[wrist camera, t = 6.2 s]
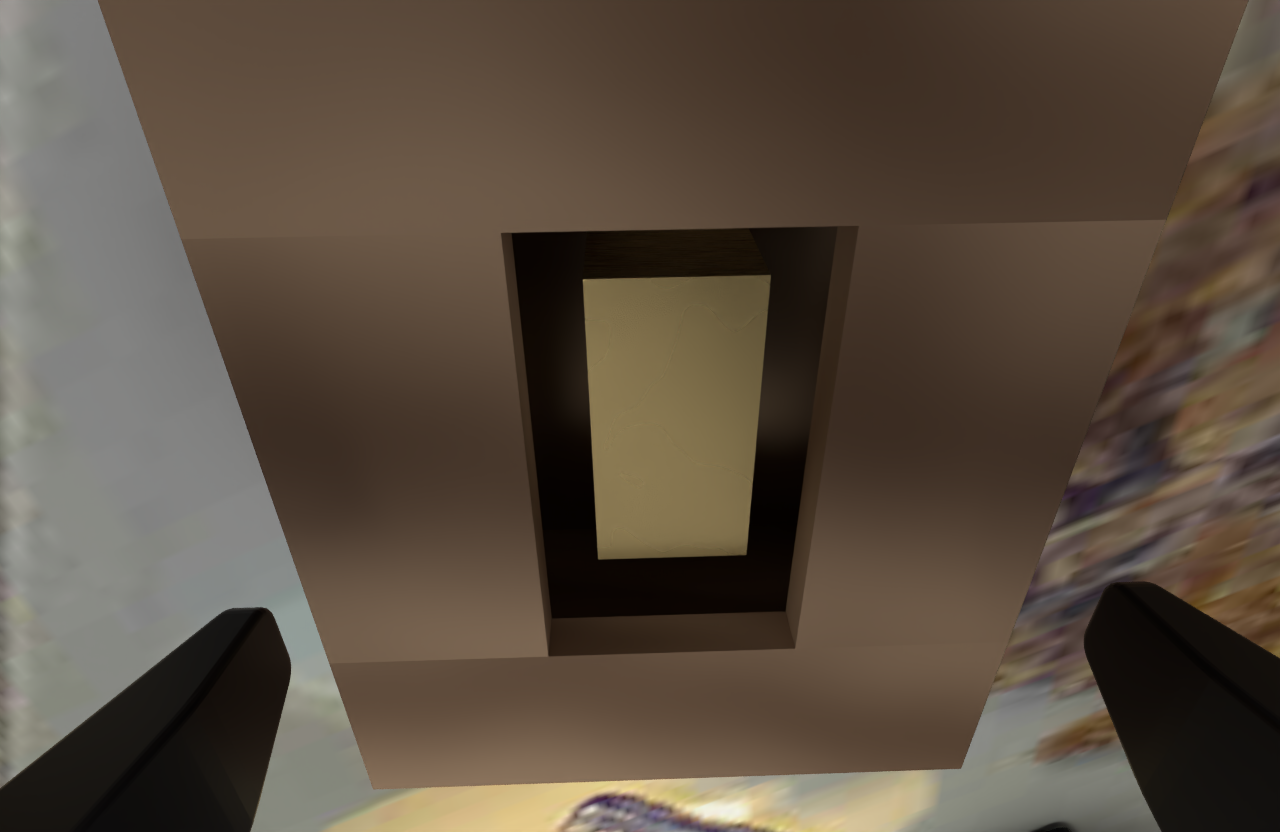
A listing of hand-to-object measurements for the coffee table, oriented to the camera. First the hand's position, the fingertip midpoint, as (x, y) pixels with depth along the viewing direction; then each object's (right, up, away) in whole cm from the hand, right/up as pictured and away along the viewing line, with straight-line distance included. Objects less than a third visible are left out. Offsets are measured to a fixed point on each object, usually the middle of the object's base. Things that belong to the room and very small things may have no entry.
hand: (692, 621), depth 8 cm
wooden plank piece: (0, +5, +7) cm, 9 cm away
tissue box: (0, +5, +8) cm, 10 cm away
